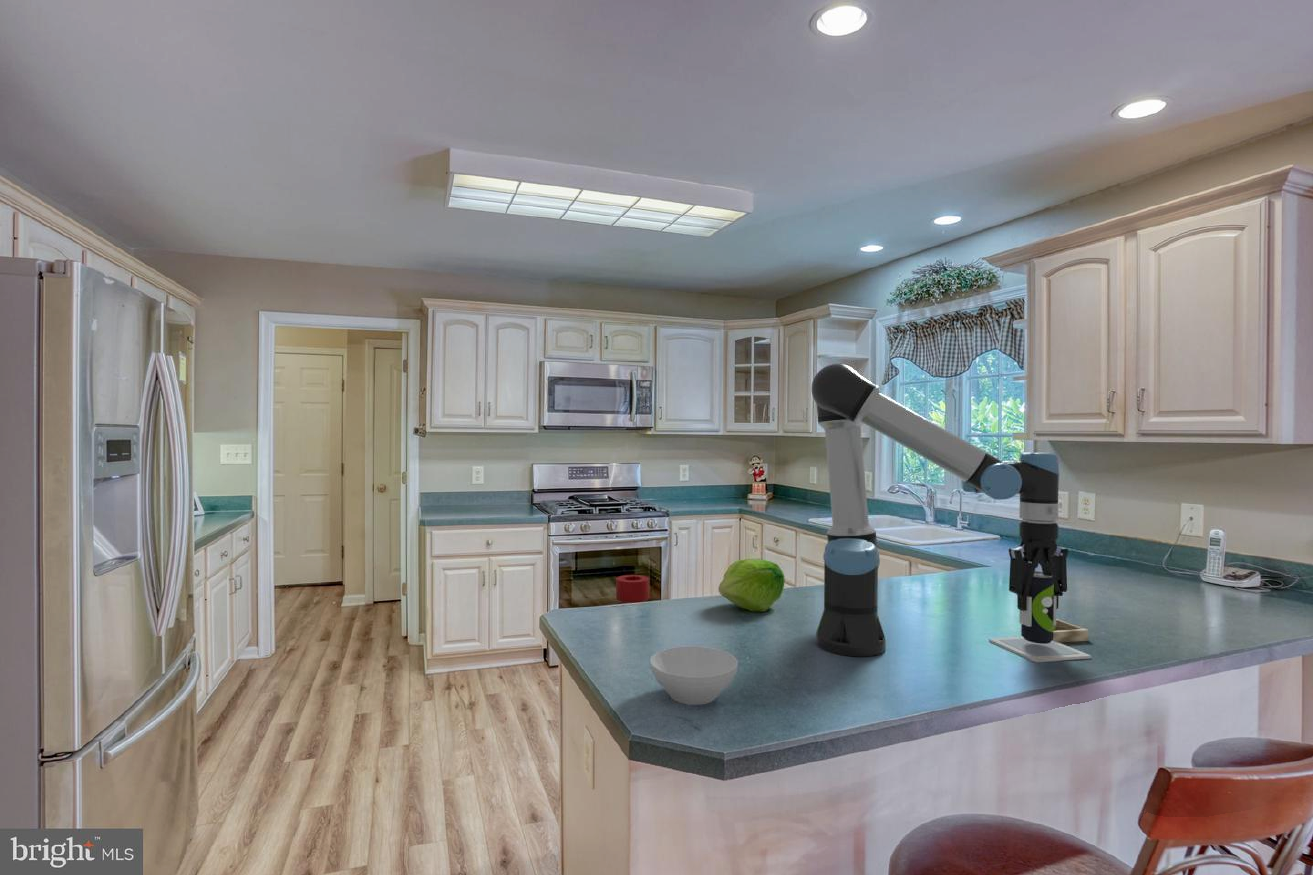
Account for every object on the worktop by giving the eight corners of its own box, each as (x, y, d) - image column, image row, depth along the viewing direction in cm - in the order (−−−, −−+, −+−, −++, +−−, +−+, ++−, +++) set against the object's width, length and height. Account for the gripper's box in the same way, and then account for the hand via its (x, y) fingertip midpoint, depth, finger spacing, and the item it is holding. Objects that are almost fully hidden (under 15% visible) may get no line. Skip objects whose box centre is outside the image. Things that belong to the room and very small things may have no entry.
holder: (1054, 642, 148) (1054, 632, 148) (1023, 630, 157) (1023, 620, 157) (1088, 640, 150) (1088, 630, 150) (1056, 628, 159) (1056, 618, 159)
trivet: (1034, 662, 135) (1035, 659, 135) (988, 641, 149) (988, 638, 149) (1091, 658, 138) (1091, 655, 138) (1040, 637, 152) (1040, 634, 152)
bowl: (642, 714, 109) (642, 673, 109) (656, 679, 125) (657, 643, 125) (736, 721, 107) (736, 679, 107) (739, 684, 122) (739, 648, 122)
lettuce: (705, 606, 178) (706, 557, 178) (765, 599, 186) (766, 552, 186) (733, 620, 164) (734, 568, 164) (797, 612, 173) (797, 561, 173)
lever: (647, 606, 179) (647, 582, 179) (613, 605, 180) (614, 581, 180) (653, 590, 197) (653, 569, 197) (623, 589, 198) (623, 568, 197)
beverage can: (1018, 634, 148) (1019, 569, 148) (1049, 637, 146) (1049, 571, 146) (1024, 642, 142) (1024, 575, 142) (1056, 645, 140) (1057, 577, 140)
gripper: (1014, 524, 138) (1013, 631, 138) (1088, 522, 141) (1087, 626, 141) (990, 519, 145) (989, 621, 145) (1060, 518, 149) (1059, 617, 149)
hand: (1037, 623), depth 143 cm, fingers closed on beverage can, 6 cm apart
